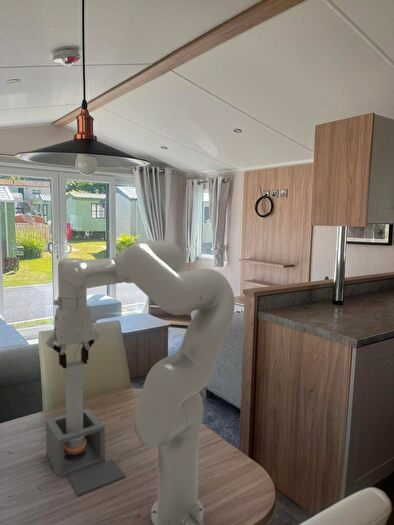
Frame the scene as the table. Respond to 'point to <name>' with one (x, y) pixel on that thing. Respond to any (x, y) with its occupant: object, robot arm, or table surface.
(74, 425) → the grey cylindrical piece
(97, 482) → the mat
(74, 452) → the button
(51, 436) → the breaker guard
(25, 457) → the table surface
